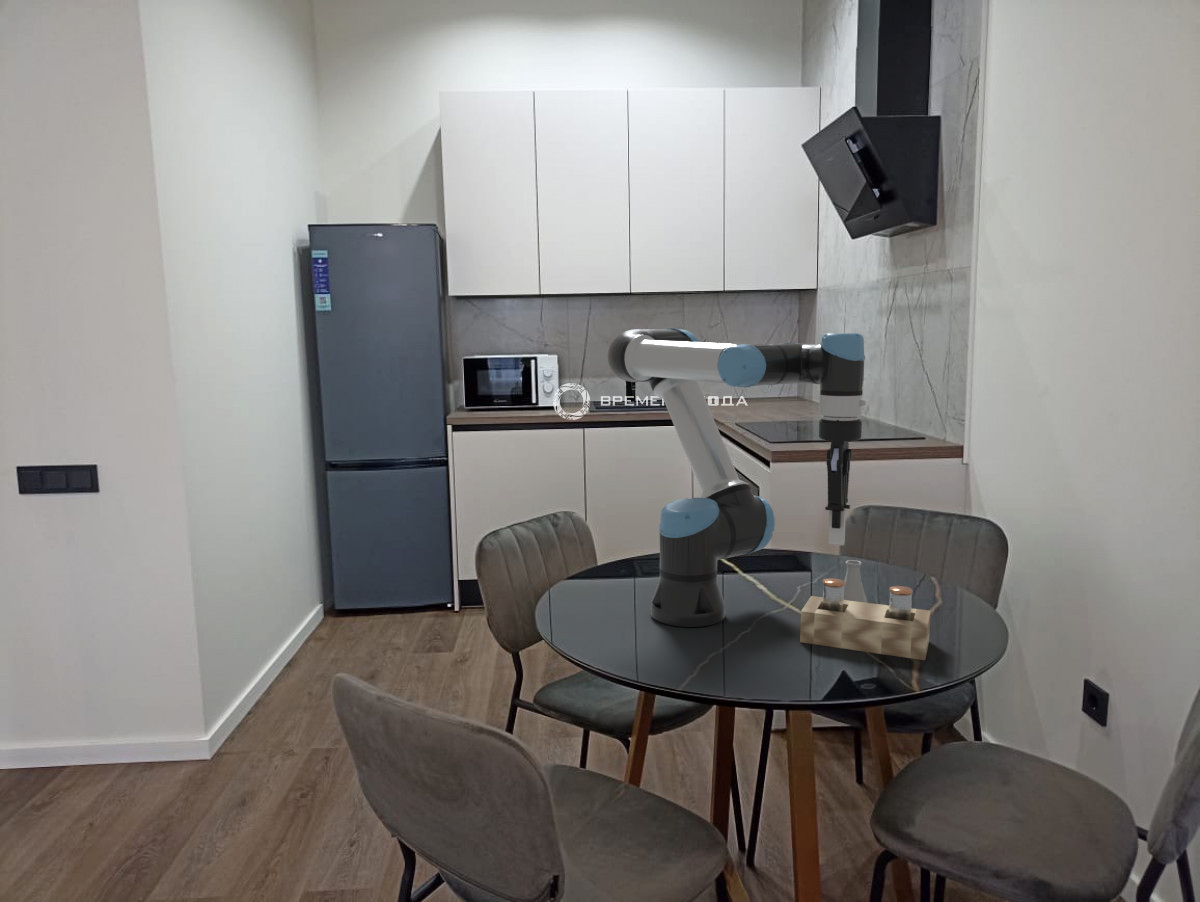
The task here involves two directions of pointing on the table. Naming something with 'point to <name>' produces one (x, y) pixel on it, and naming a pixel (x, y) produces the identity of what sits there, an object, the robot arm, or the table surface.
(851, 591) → the flask
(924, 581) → the table surface
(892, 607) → the peg right
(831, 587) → the peg left
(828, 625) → the oak block
